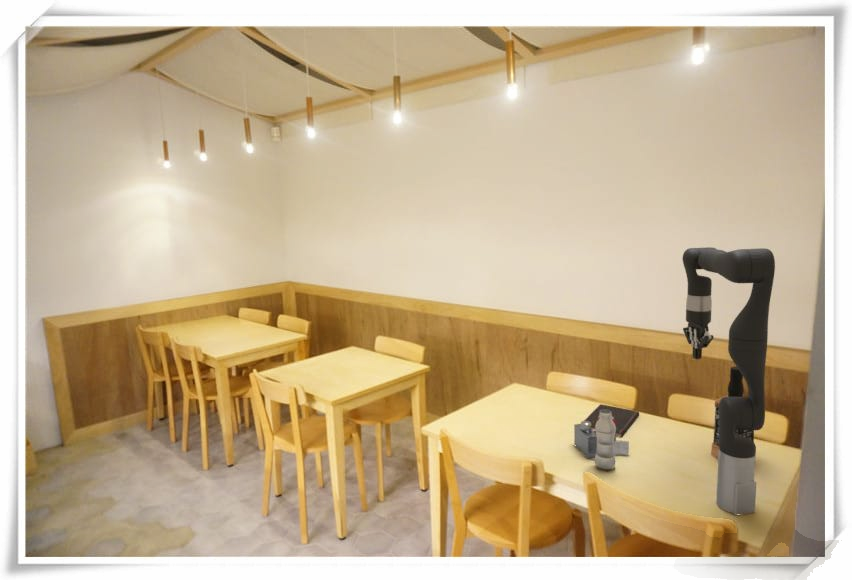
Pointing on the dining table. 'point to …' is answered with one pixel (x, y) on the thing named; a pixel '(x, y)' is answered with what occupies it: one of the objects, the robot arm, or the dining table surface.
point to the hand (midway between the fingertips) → (696, 358)
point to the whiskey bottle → (733, 391)
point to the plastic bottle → (605, 441)
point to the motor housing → (594, 441)
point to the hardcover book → (620, 415)
